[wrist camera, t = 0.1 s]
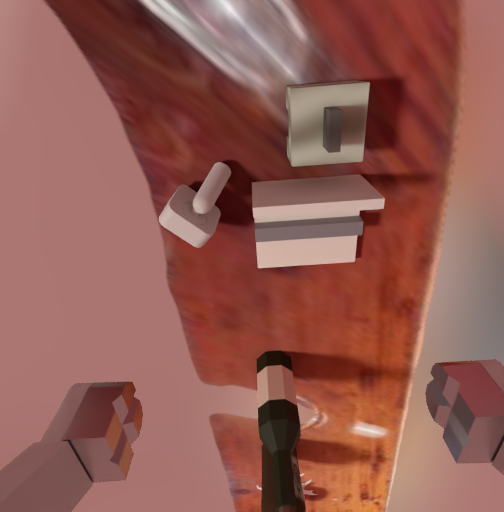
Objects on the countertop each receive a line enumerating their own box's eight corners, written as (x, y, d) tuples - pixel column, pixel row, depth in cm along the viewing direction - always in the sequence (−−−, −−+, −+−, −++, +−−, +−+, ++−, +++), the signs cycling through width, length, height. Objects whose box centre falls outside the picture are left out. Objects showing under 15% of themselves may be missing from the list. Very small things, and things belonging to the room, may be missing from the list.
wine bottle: (249, 357, 76) (250, 510, 50) (282, 345, 74) (301, 496, 48) (265, 379, 80) (274, 532, 54) (297, 368, 78) (322, 520, 52)
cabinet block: (285, 85, 49) (294, 90, 39) (354, 80, 49) (380, 83, 39) (287, 155, 54) (295, 174, 44) (349, 150, 53) (371, 168, 44)
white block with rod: (247, 177, 55) (239, 208, 47) (213, 217, 60) (200, 251, 53) (207, 145, 52) (191, 173, 44) (175, 190, 58) (155, 222, 50)
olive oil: (285, 460, 97) (295, 574, 75) (252, 451, 95) (254, 566, 73) (304, 441, 92) (322, 557, 71) (271, 431, 90) (278, 547, 68)
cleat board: (251, 182, 56) (252, 207, 46) (360, 174, 55) (384, 198, 45) (257, 264, 64) (259, 300, 54) (352, 257, 63) (372, 293, 53)
